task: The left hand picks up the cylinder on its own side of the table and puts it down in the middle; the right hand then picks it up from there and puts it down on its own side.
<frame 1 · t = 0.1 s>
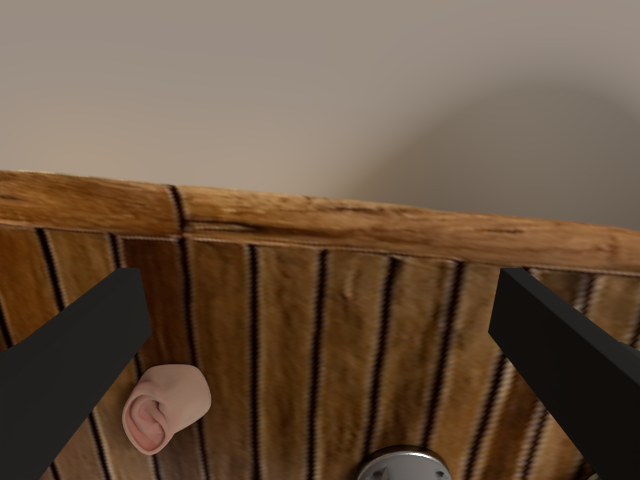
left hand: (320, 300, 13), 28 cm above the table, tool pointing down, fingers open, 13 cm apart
anatomical model: (171, 396, 50), on the table
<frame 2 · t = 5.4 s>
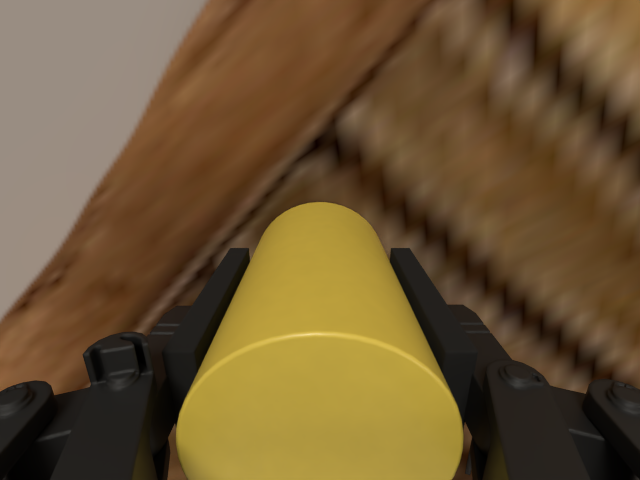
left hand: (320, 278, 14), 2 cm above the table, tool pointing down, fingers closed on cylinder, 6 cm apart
cylinder: (319, 263, 16), on the table, touching left hand
when the left hand's fingers open (3 cm above the table, at t = 15.7 s): cylinder drops 2 cm, on the table.
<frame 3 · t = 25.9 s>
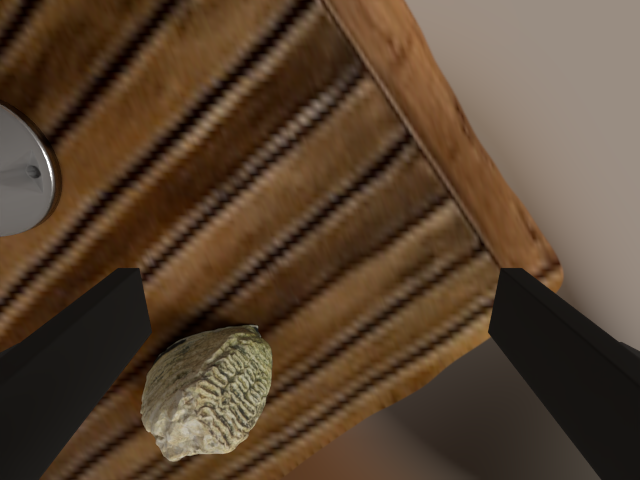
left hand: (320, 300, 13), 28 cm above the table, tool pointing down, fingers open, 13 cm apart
fossil: (215, 350, 47), on the table
when the right hand's fingers open (3 cm above the table, at t = 37.3 s): cylinder drops 2 cm, on the table.
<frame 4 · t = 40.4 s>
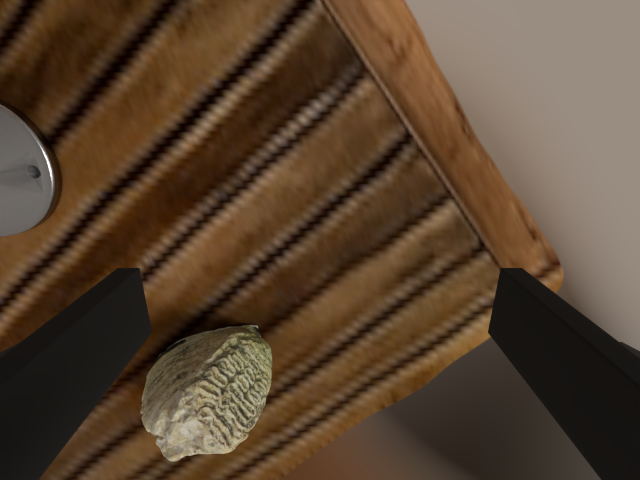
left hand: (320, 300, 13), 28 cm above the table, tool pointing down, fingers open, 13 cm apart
fossil: (215, 350, 47), on the table
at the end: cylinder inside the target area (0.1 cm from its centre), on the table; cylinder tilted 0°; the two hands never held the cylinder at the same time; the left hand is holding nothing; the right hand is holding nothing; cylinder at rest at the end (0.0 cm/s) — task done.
